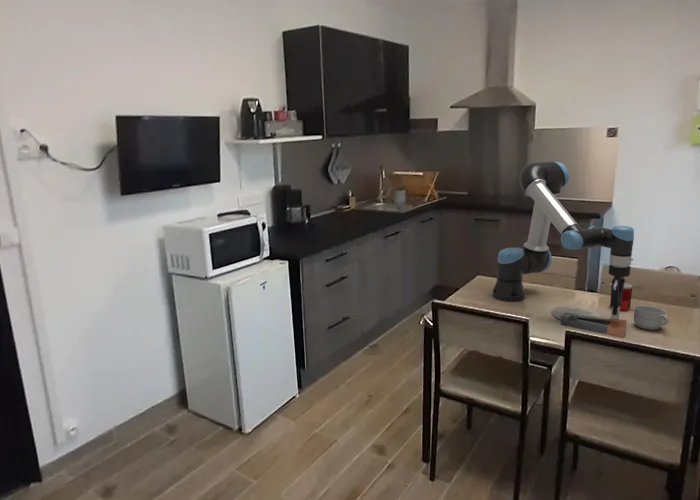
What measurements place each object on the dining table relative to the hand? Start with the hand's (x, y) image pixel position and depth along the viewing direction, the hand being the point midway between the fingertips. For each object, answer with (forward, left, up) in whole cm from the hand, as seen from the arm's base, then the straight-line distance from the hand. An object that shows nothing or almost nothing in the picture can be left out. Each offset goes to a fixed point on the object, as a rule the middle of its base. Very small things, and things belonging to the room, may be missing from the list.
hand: (614, 321), depth 205 cm
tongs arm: (-5, -5, -2) cm, 7 cm away
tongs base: (-6, -8, -2) cm, 10 cm away
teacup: (+12, +6, -2) cm, 13 cm away
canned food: (-3, +25, -2) cm, 25 cm away
